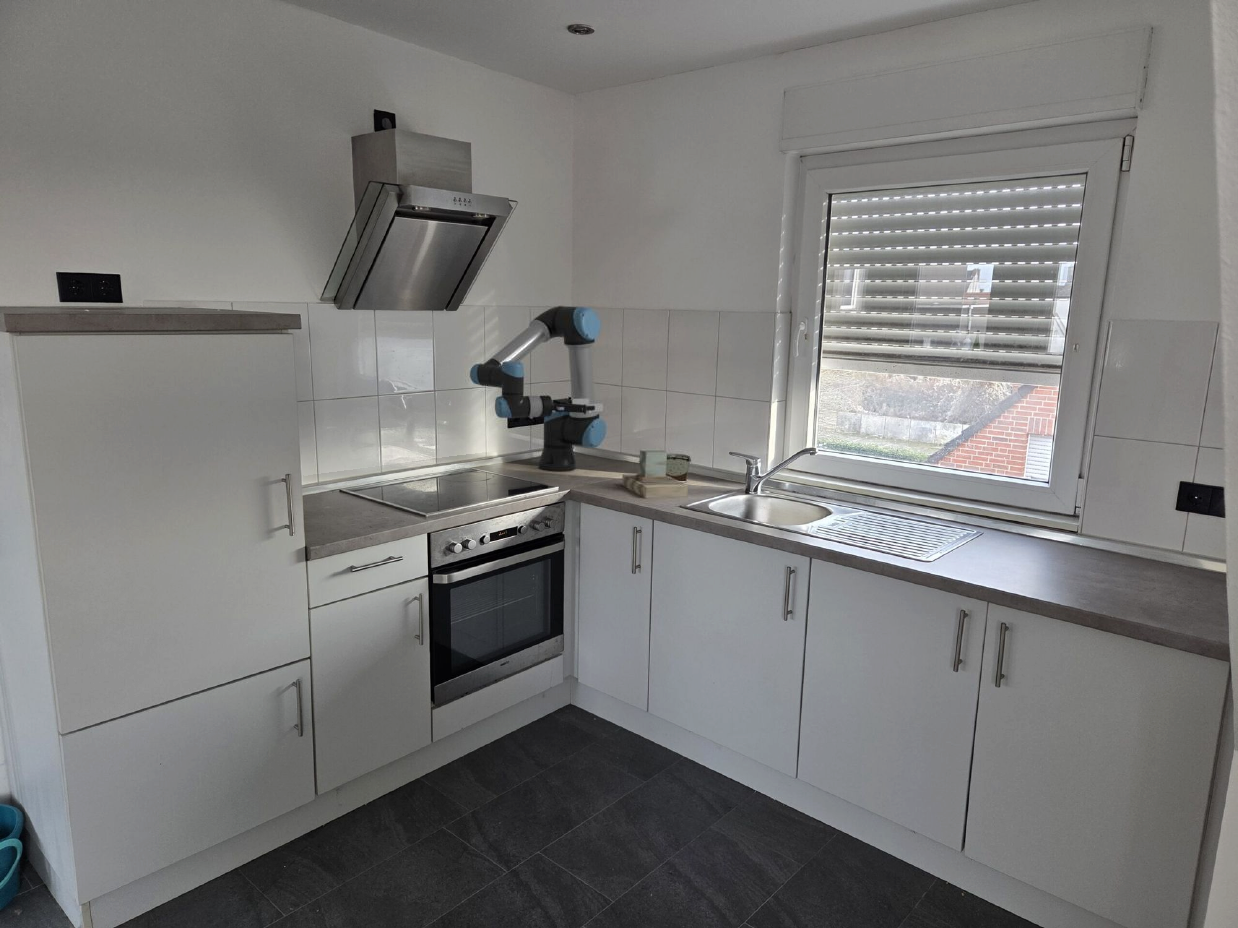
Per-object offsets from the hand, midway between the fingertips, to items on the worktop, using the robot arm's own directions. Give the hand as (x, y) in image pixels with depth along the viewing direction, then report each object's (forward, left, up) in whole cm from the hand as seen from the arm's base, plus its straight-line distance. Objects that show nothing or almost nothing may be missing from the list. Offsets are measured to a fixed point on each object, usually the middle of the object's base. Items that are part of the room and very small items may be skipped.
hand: (595, 404), depth 295 cm
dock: (+14, +19, -30) cm, 38 cm away
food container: (-2, +35, -30) cm, 46 cm away
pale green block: (+14, +18, -25) cm, 34 cm away
